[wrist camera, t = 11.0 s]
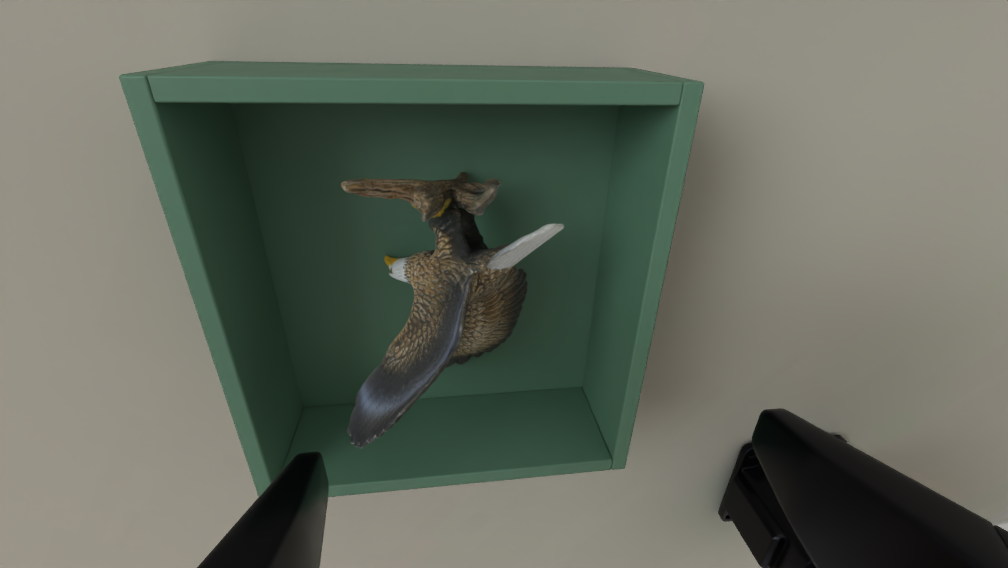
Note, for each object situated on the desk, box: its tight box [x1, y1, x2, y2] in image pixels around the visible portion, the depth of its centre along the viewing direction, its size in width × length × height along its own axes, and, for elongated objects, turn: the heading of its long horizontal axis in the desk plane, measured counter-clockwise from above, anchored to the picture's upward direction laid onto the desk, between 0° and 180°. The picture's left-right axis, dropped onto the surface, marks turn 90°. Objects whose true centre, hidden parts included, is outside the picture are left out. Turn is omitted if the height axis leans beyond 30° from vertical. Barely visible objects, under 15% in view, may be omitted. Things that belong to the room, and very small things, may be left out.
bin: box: [119, 61, 704, 497], centre depth 17 cm, size 14×15×5 cm
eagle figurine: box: [341, 172, 564, 449], centre depth 17 cm, size 8×7×9 cm
